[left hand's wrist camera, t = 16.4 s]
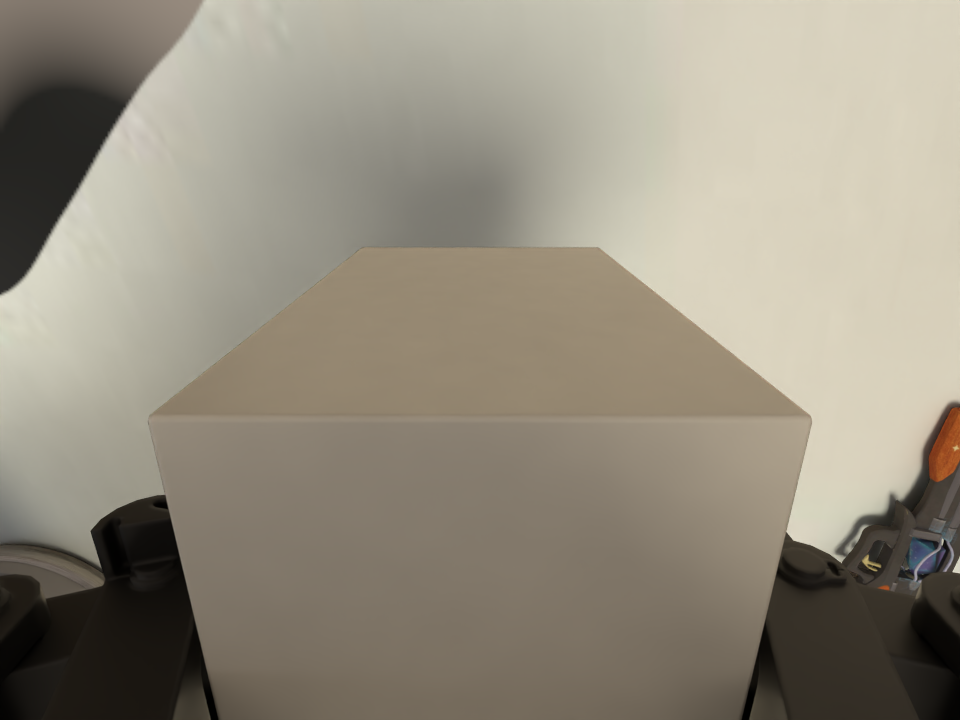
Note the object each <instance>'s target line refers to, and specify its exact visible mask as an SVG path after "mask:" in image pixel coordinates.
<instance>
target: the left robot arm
mask: <svg viewBox="0 0 960 720" xmlns="http://www.w3.org/2000/svg"><path fill="white" fill-rule="evenodd" d="M91 534H92V538H93V541H94V544H95V547H96V551H97V554H98V557H99V561H100V564H101V567H102V571H103V573H102V572H100V571H98V570H97V569H95V568H94V567H92V566H90V565H88V564H87V563H85V562H83V561H81V560H79V559H76V558H74V557H72V556H69V555H67V554H64V553H61V552H58V551H54V550H51V549H46V548H42V547H36V546H28V545H1V546H0V720H219V719H218V715H217V711H216V707H215V702H214V698H213V694H212V690H211V686H210V681H209V677H208V673H207V669H206V664H205V660H204V656H203V652H202V648H201V643H200V639H199V635H198V631H197V626H196V622H195V618H194V614H193V610H192V605H191V601H190V597H189V593H188V588H187V584H186V580H185V576H184V572H183V567H182V563H181V559H180V555H179V550H178V546H177V542H176V538H175V534H174V529H173V525H172V521H171V517H170V512H169V508H168V504H167V500H166V496H165V495H157V496H153V497H148V498H144V499H140V500H136V501H134V502H132V503H129V504H127V505H125V506H122V507H120V508H117V509H116V510H114V511H113V512H111V513H110V514H108V515H107V516H105V517H104V518H102V519H101V520H100V521H99V522H98V523H97V524H96V526H95V527H94V528H93V529H92V530H91ZM742 720H960V574H959V573H953V572H938V573H930V574H929V575H928V576H926V577H925V578H924V579H922V581H921V583H920V586H919V589H918V592H917V595H916V596H912V595H907V594H903V593H898V592H893V591H889V590H884V589H879V588H875V587H870V586H866V585H863V584H859V583H856V581H855V579H854V577H853V576H852V575H851V573H850V572H849V571H848V569H847V568H846V567H845V566H844V565H843V564H842V563H840V562H839V561H838V560H836V559H835V558H834V557H832V556H831V555H830V554H828V553H825V552H823V551H821V550H819V549H817V548H815V547H813V546H811V545H807V544H803V543H800V542H796V541H793V540H792V538H791V537H790V536H789V535H788V534H787V532H786V534H785V539H784V543H783V547H782V551H781V555H780V560H779V564H778V568H777V572H776V577H775V581H774V585H773V589H772V593H771V598H770V602H769V606H768V610H767V615H766V619H765V623H764V627H763V631H762V636H761V640H760V644H759V648H758V653H757V657H756V661H755V665H754V669H753V674H752V678H751V682H750V686H749V690H748V695H747V699H746V703H745V707H744V712H743V716H742Z"/></svg>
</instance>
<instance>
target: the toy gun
mask: <svg viewBox="0 0 960 720" xmlns="http://www.w3.org/2000/svg"><path fill="white" fill-rule="evenodd" d="M929 477H930V481H929V483H928V486H927V488H926V490H925V492H924V494H923V496H922V498H921V500H920V501H919V503H918V504H917V505H916V507H915V508H914V510H913V511H912V512H910V511H909V509H908V508H907V507H905V506H904V505H903V504H902V503H900V502H899V501H898V500H896V505H895V516H894V520H893V524H892V526H883V525H872V526H869V527H866V528H865V529H864V530H863V532H862V534H861V536H860V539H859V541H858V543H857V544H856V546H855V547H854V549H853V550H852V551H851V552H850V553H849V555H848V556H847V557H846V558H845V559H844V560H843V562H842V564H843V565H844V566H845V567H846V568H847V569H848V571H851V572H853V573H856V574H858V575H859V576H857V577H855V578H854V579H855V581H856V583H859V584H863V585H866V586H870V587H875V588H879V589H884V590H889V591H893V592H898V593H903V594H907V595H912V596H916V595H917V592H918V589H919V586H920V583H921V581H922V579H924V578H925V577H926V576H928V575H929V574H930V573H938V572H952V571H953V569H954V567H955V565H956V563H957V561H958V559H959V557H960V408H958V407H957V408H952V409H951V411H950V413H949V415H948V417H947V419H946V421H945V423H944V425H943V427H942V429H941V431H940V433H939V435H938V438H937V440H936V442H935V444H934V446H933V448H932V450H931V452H930V455H929ZM942 538H943V539H944V542H943V546H941V541H942ZM876 540H881V541H884V542H885V543H884V546H883V548H882V550H881V552H880V555H879V557H878V559H877V561H876V563H875V562H871V561H868V558H869V555H868V552H869V551H870V549H871V547H872V545H873V543H874V542H875V541H876ZM938 542H939V543H938ZM905 557H906V560H907V563H908V566H909V569H908V570H905V568H904V567H903V566H902V564H903V562H904V559H905ZM861 561H862V562H863V564H864V565H865V566H866V567H868V568H869V570H865V569H861V568H859V567H858V565H859V564H860V562H861ZM867 564H870V565H873V567H871V566H868V565H867ZM901 568H902V569H903V570H900V569H901ZM910 571H911V572H910ZM922 574H923V575H922Z"/></svg>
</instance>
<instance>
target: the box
mask: <svg viewBox="0 0 960 720" xmlns="http://www.w3.org/2000/svg"><path fill="white" fill-rule="evenodd" d="M148 424H149V428H150V432H151V437H152V441H153V445H154V449H155V453H156V458H157V462H158V466H159V470H160V474H161V479H162V483H163V487H164V491H165V496H166V500H167V504H168V508H169V512H170V517H171V521H172V525H173V529H174V534H175V538H176V542H177V546H178V550H179V555H180V559H181V563H182V567H183V572H184V576H185V580H186V584H187V588H188V593H189V597H190V601H191V605H192V610H193V614H194V618H195V622H196V626H197V631H198V635H199V639H200V643H201V648H202V652H203V656H204V660H205V664H206V669H207V673H208V677H209V681H210V686H211V690H212V694H213V698H214V702H215V707H216V711H217V715H218V719H219V720H742V716H743V712H744V707H745V703H746V699H747V695H748V690H749V686H750V682H751V678H752V674H753V669H754V665H755V661H756V657H757V653H758V648H759V644H760V640H761V636H762V631H763V627H764V623H765V619H766V615H767V610H768V606H769V602H770V598H771V593H772V589H773V585H774V581H775V577H776V572H777V568H778V564H779V560H780V555H781V551H782V547H783V543H784V539H785V534H786V530H787V526H788V522H789V517H790V513H791V509H792V505H793V501H794V496H795V492H796V488H797V484H798V479H799V475H800V471H801V467H802V463H803V458H804V454H805V450H806V446H807V441H808V437H809V433H810V429H811V425H812V419H811V416H810V415H809V414H808V413H806V412H805V411H804V410H803V409H801V408H800V407H799V406H798V405H796V404H795V403H794V402H793V401H791V400H790V399H789V398H788V397H786V396H785V395H784V394H782V393H781V392H780V391H779V390H777V389H776V388H775V387H774V386H772V385H771V384H770V383H769V382H767V381H766V380H765V379H764V378H762V377H761V376H760V375H759V374H757V373H756V372H755V371H754V370H752V369H751V368H750V367H748V366H747V365H746V364H745V363H743V362H742V361H741V360H740V359H738V358H737V357H736V356H735V355H733V354H732V353H731V352H730V351H728V350H727V349H726V348H725V347H723V346H722V345H721V344H720V343H718V342H717V341H716V340H714V339H713V338H712V337H711V336H709V335H708V334H707V333H706V332H704V331H703V330H702V329H701V328H699V327H698V326H697V325H696V324H694V323H693V322H692V321H691V320H689V319H688V318H687V317H686V316H684V315H683V314H682V313H680V312H679V311H678V310H677V309H675V308H674V307H673V306H672V305H670V304H669V303H668V302H667V301H665V300H664V299H663V298H662V297H660V296H659V295H658V294H657V293H655V292H654V291H653V290H652V289H650V288H649V287H648V286H646V285H645V284H644V283H643V282H641V281H640V280H639V279H638V278H636V277H635V276H634V275H633V274H631V273H630V272H629V271H628V270H626V269H625V268H624V267H623V266H621V265H620V264H619V263H618V262H616V261H615V260H614V259H612V258H611V257H610V256H609V255H607V254H606V253H605V252H604V251H602V250H601V249H600V248H598V247H363V248H361V249H360V250H358V251H357V252H356V253H355V254H353V255H352V256H351V257H350V258H348V259H347V260H346V261H345V262H343V263H342V264H341V265H339V266H338V267H337V268H336V269H334V270H333V271H332V272H331V273H329V274H328V275H327V276H326V277H324V278H323V279H322V280H320V281H319V282H318V283H317V284H315V285H314V286H313V287H312V288H310V289H309V290H308V291H307V292H305V293H304V294H303V295H301V296H300V297H299V298H298V299H296V300H295V301H294V302H293V303H291V304H290V305H289V306H288V307H286V308H285V309H284V310H282V311H281V312H280V313H279V314H277V315H276V316H275V317H274V318H272V319H271V320H270V321H269V322H267V323H266V324H265V325H263V326H262V327H261V328H260V329H258V330H257V331H256V332H255V333H253V334H252V335H251V336H250V337H248V338H247V339H246V340H244V341H243V342H242V343H241V344H239V345H238V346H237V347H236V348H234V349H233V350H232V351H231V352H229V353H228V354H227V355H225V356H224V357H223V358H222V359H220V360H219V361H218V362H217V363H215V364H214V365H213V366H212V367H210V368H209V369H208V370H206V371H205V372H204V373H203V374H201V375H200V376H199V377H198V378H196V379H195V380H194V381H193V382H191V383H190V384H189V385H187V386H186V387H185V388H184V389H182V390H181V391H180V392H179V393H177V394H176V395H175V396H174V397H172V398H171V399H170V400H168V401H167V402H166V403H165V404H163V405H162V406H161V407H160V408H158V409H157V410H156V411H155V412H153V413H152V414H151V415H150V416H149V420H148Z"/></svg>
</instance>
